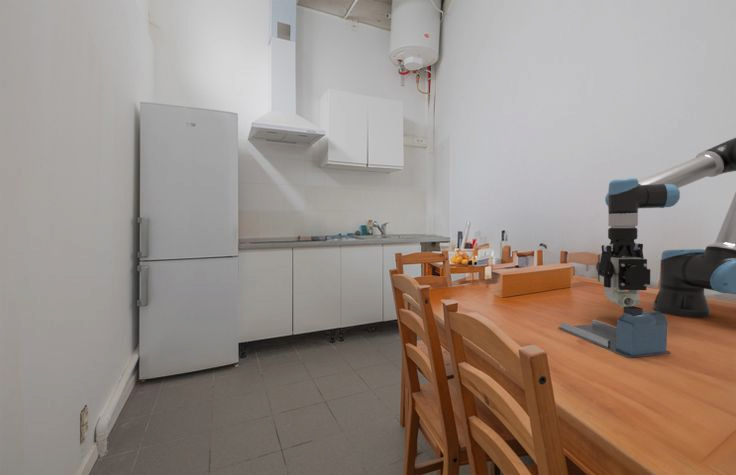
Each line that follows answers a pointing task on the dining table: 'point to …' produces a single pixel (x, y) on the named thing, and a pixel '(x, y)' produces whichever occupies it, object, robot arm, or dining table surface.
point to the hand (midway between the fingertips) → (621, 296)
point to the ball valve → (627, 279)
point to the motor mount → (627, 333)
